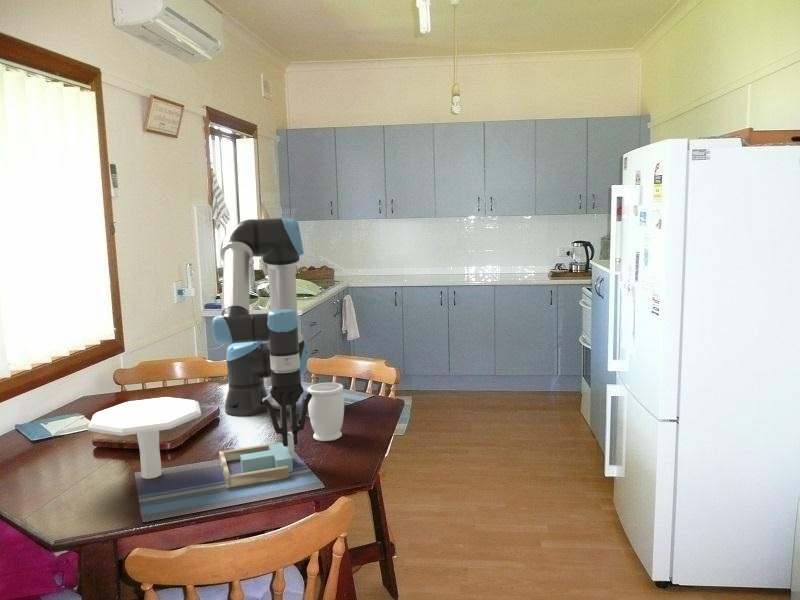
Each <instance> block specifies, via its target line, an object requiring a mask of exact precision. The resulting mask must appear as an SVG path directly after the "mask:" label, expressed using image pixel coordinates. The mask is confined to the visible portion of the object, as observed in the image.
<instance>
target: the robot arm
mask: <svg viewBox="0 0 800 600" xmlns="http://www.w3.org/2000/svg"><path fill="white" fill-rule="evenodd" d="M219 253H220V254H219V255H220V259H221V260H222V262H223V264H222V265H223V268H222V286H221V290H222V291H221V307H220V309H221V313H220V314H219V315H215V316H213V317H212V322H211V323H212V324H211V328H212V329H211V332H212V337H213V338H212V340H213V341H214V343H215V344H217V345H218V344H220V345H226V344H227V345H228V347H227V349H226V359H225V361H226V364H227V366H226V367H227V376H228V377H227V381H228V389H227V390H228V391H227V394H226V399H225V401H224V412H225V414H227V415H231V416H235V417H239V416H241V417H242V416H243V417H244V416H245V417H246V416H254V415H258V414H262V413H265V412H267V411H268V415H269V418H270V422H271V424H272V427H273V429H274V431H275V433H276V434H277V435H281V443H282V444H283V445H284V447H286V448H287V450H288V451H289V453H290V455H291V457H292V460H293V459H294V460H295V457H296V456H295V446H298V443H299V441H298V434H299V432H300V431H304V429H305V425H306V420H307V419H306V418H307V413H308V404H309V401H310V400H311V398H312V394H311V393H310V392H308V391H307V390H305V389H304V388H303V385H302V377H301V375H303V374H305V372H306V370H307V367H308V357H309V356H308V355H309V354H308V351H309V346H308V345H309V343H308V341H307V340H306V339H304V335H303V334H301V333H300V332H299V320H298V299H297V298H298V297H297V279H296V265H297V264H298V263H299V262H300V256H303V255H304V254H305V251H304V247H303V240H302V236H301V229H300V225H299V221H298V220H297V219H295V218H287V217H286V218H284V217H282V218H281V217H278V218H260V219H259V218H258V219H257V218H256V219H253V218H250V219H246V220H243V221H241V222H238V223H237V224H235V225H234V226H232V228H230V229H229V231H228V232H227V233H226V234H225V236H224V238H223V240H222V242H221V245H220V252H219ZM254 257H257V258H258V257H261V258H262V264H264V265H265V266H267V271H268V273H267V274H268V286H269V289H268V290H269V303H270V311H269V312H267V313H266V312H265V313H252V314H251V313H250V310H251V309H250V302H251V301H250V299H251V298H250V296H251V295H250V291H251V290H250V286H251V285H250V281H251V280H250V279H251V278H250V272H251V270H250V263H251V262H252V260H253V258H254ZM266 378H268V379H269V378H270V379H271V382H270V383H271V389H270V391H269V394H268V392H267V389H266V387H265V379H266ZM300 398H301V399H302V400H301V404H300V410H299V416H298V421H297V403H298V401H299V400H300ZM273 400H274V401H275V402H276V404H278V406H279V413H280V414H279V415H280V416H279V417H280V426H279V422H278V419H277V417H276V413H275V410H274V407H273V405H272V404H273V403H274V401H273ZM287 406H289V417H290V418H289V419H290V430H291V431H288V418H287V417H288V416H287Z"/></svg>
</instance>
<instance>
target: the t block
mask: <svg viewBox="0 0 800 600" xmlns="http://www.w3.org/2000/svg"><path fill="white" fill-rule="evenodd" d="M271 444H272V443H271ZM239 460H240V469H241V473H246V472H252V471H258V470H264V469H270V468H276V467H282V466H288V467H289V473H290V472H294V468H293V467H294V466H293V463H294V462H293V459H292V457H291V455H290V453H289V451H288V450H287V446H286V447H284V445H283V444H282V442H280V443H276V444H272V445H269V450H268V451H262V452H255V453H249V454H243V455H240V459H239Z"/></svg>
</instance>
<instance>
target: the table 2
mask: <svg viewBox="0 0 800 600" xmlns="http://www.w3.org/2000/svg"><path fill="white" fill-rule="evenodd" d="M201 416H202V410H201V406H200V403H199V401H197V400H195V399H186V398H179V397H170V396H163V397H156V398H155V397H153V398H148V399H147V398H145V399H140V400H138V399H137V400H129V401H125V402H122V403H119V404H116V405H114V406H111V407H108V408H105V409H103V410H99V411H97V412H95V413H94V414H93V415H92V417H91V420H90V423H89V426H88V429H87V431H88V432H94V433H101V434H105V435H106V434H107V435H112V436H113V435H114V436H121V437H122V436H123V437H124V436H128V435H137V443H138V448H139V457H140V471H141V473H140V474H141V478H142V479H146V480H148V479H155V478H158V477H159V476H161V475H162V474H163V473H162V460H161V450H160V431H165V430H171V429H174V428H176V427H178V426H181V425H183V424H185V423H187V422H190V421H193V420H194V419H197V418H199V417H201Z"/></svg>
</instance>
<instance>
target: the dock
mask: <svg viewBox="0 0 800 600" xmlns="http://www.w3.org/2000/svg"><path fill="white" fill-rule="evenodd" d="M272 444H277V442H272V443H265V444H260V445H253V446H246V447H240V448H239V447H238V448H233V449H227V450H220V451H218V452H219V463H220V465H221V470H222V475H223V478H224V482H225V486H226V488H227V489H231V488H234V487H235V488H236V487H240V486H241V487H243V486H246V485H252V484H253V485H254V484H258V483H264V482H269V481H270V482H271V481H276V480H282V479H288V478H290V472H289V467H288V466H282V467H276V468H270V469H264V470H258V471H252V472H246V473H242V472H241V473H234V474H231V473H230V470H229V467H228V464H227V462H231V461H239V460H240V455H243V454H249V453H255V452H262V451H268V450H269V445H272Z"/></svg>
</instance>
